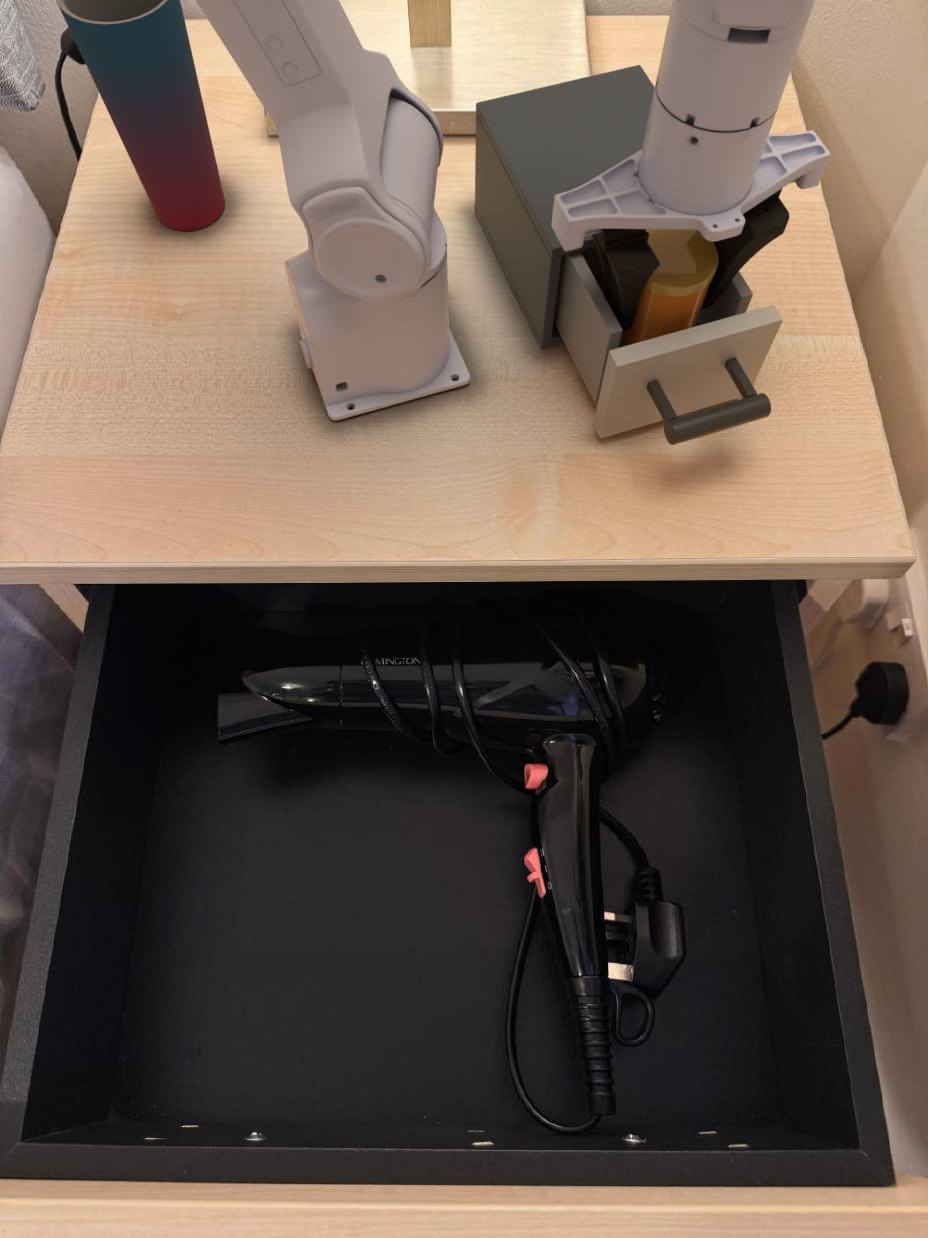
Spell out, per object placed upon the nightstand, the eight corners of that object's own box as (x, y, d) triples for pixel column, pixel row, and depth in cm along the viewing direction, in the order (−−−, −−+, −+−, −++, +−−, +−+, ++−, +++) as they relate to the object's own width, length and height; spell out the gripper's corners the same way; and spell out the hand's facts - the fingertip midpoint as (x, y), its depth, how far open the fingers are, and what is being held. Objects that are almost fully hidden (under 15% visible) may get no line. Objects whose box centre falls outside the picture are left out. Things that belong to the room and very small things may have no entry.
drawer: (779, 447, 54) (819, 375, 48) (627, 493, 53) (648, 425, 47) (667, 258, 61) (690, 173, 54) (529, 294, 59) (536, 212, 53)
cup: (220, 246, 62) (151, 30, 48) (129, 232, 63) (35, 15, 49) (249, 180, 65) (191, -43, 51) (161, 167, 65) (81, -57, 52)
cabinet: (697, 306, 60) (731, 202, 52) (541, 349, 58) (552, 249, 51) (619, 175, 65) (640, 63, 57) (474, 211, 64) (475, 101, 56)
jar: (601, 305, 55) (615, 233, 50) (674, 285, 55) (695, 212, 50) (633, 365, 53) (651, 297, 48) (709, 344, 53) (734, 274, 48)
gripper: (605, 185, 38) (571, 389, 50) (901, 110, 40) (798, 325, 52) (546, 83, 41) (527, 300, 53) (825, 17, 42) (744, 242, 55)
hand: (658, 307), depth 53 cm, fingers closed on jar, 5 cm apart
